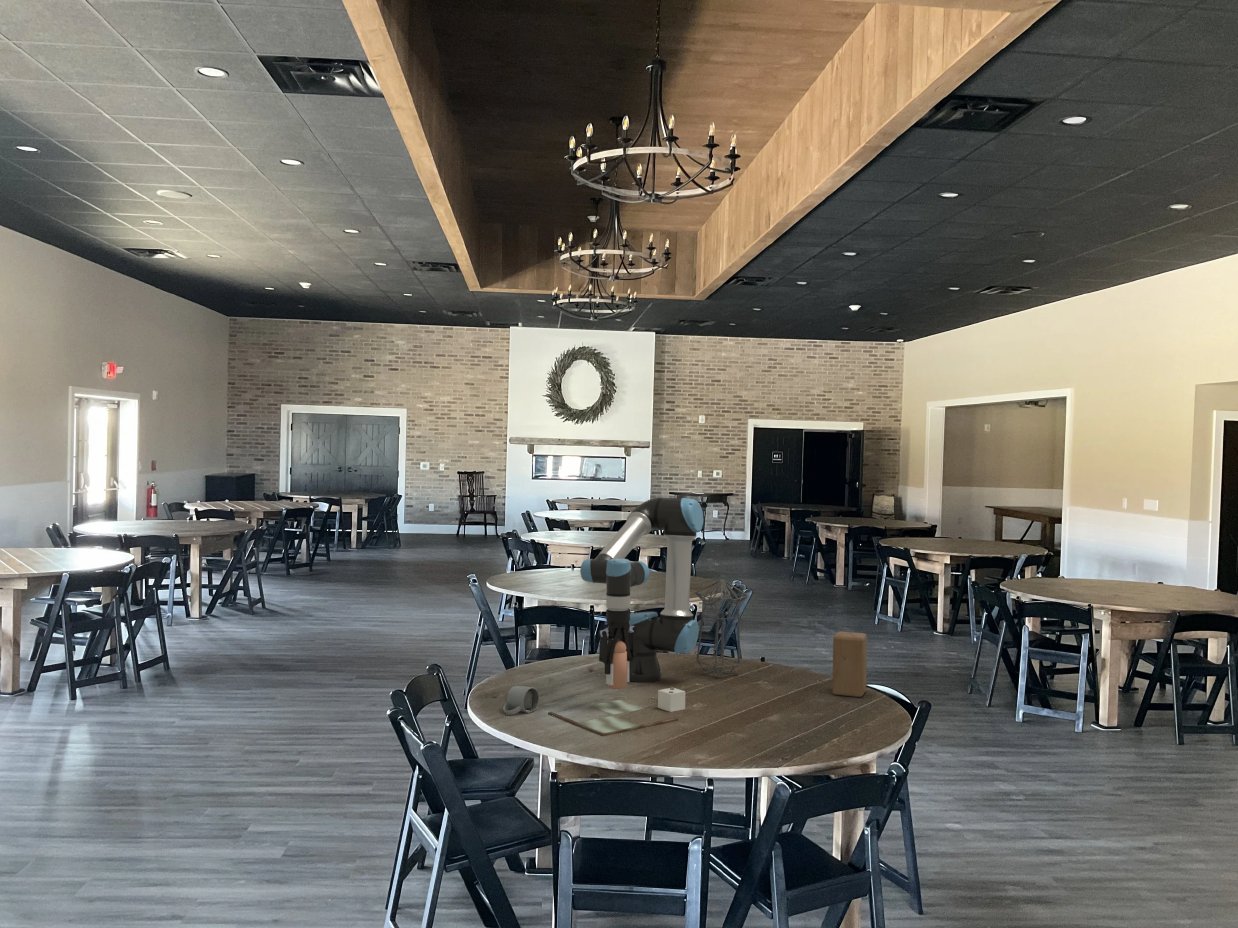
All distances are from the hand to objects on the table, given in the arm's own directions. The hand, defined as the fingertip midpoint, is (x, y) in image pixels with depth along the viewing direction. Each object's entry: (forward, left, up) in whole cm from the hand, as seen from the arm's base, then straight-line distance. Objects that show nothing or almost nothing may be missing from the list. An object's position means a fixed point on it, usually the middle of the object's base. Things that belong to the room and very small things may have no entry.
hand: (617, 682), depth 290 cm
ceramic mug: (+27, -14, -8) cm, 32 cm away
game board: (+7, +7, -8) cm, 13 cm away
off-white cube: (-13, +11, -8) cm, 19 cm away
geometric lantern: (-60, -16, -8) cm, 62 cm away
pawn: (0, 0, -1) cm, 1 cm away
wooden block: (-77, +29, -8) cm, 82 cm away
